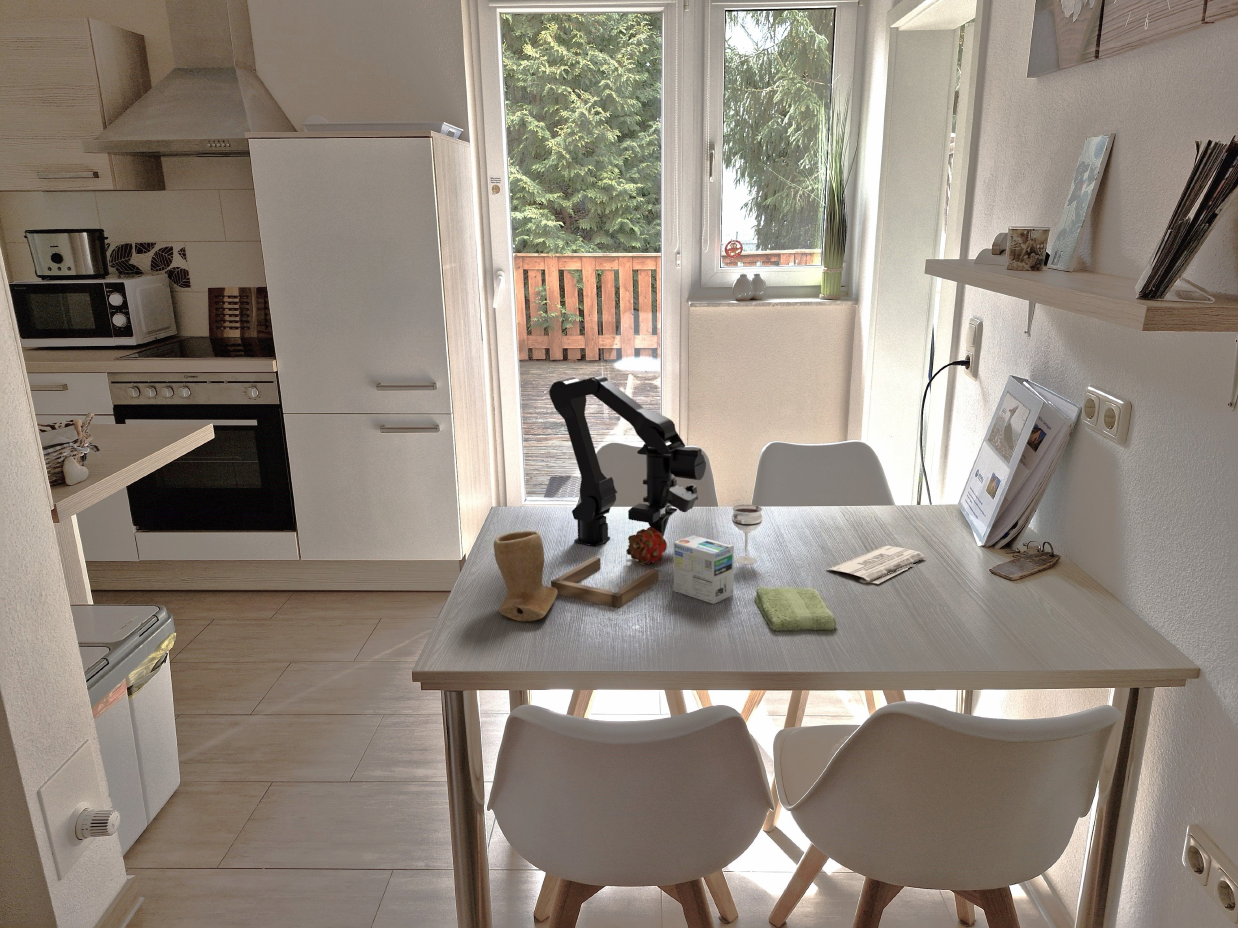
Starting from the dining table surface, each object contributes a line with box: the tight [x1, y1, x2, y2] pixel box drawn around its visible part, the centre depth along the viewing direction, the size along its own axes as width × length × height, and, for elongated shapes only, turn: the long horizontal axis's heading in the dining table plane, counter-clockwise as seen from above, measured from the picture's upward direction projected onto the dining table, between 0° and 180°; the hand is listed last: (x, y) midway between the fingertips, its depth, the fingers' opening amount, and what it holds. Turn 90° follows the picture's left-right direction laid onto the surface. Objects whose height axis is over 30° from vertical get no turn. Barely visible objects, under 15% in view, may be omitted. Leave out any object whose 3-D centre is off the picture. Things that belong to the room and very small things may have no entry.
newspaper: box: [825, 545, 926, 585], centre depth 192 cm, size 23×12×2 cm, turn 130°
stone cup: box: [493, 530, 558, 622], centre depth 170 cm, size 15×12×15 cm
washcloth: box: [753, 586, 838, 632], centre depth 168 cm, size 13×18×3 cm
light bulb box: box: [673, 534, 735, 605], centre depth 177 cm, size 11×7×11 cm, turn 47°
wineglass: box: [731, 503, 764, 565], centre depth 195 cm, size 7×7×12 cm
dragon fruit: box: [626, 526, 668, 566], centre depth 195 cm, size 8×8×12 cm
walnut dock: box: [550, 556, 660, 609], centre depth 182 cm, size 16×16×2 cm
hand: (659, 540), depth 200 cm, fingers closed
